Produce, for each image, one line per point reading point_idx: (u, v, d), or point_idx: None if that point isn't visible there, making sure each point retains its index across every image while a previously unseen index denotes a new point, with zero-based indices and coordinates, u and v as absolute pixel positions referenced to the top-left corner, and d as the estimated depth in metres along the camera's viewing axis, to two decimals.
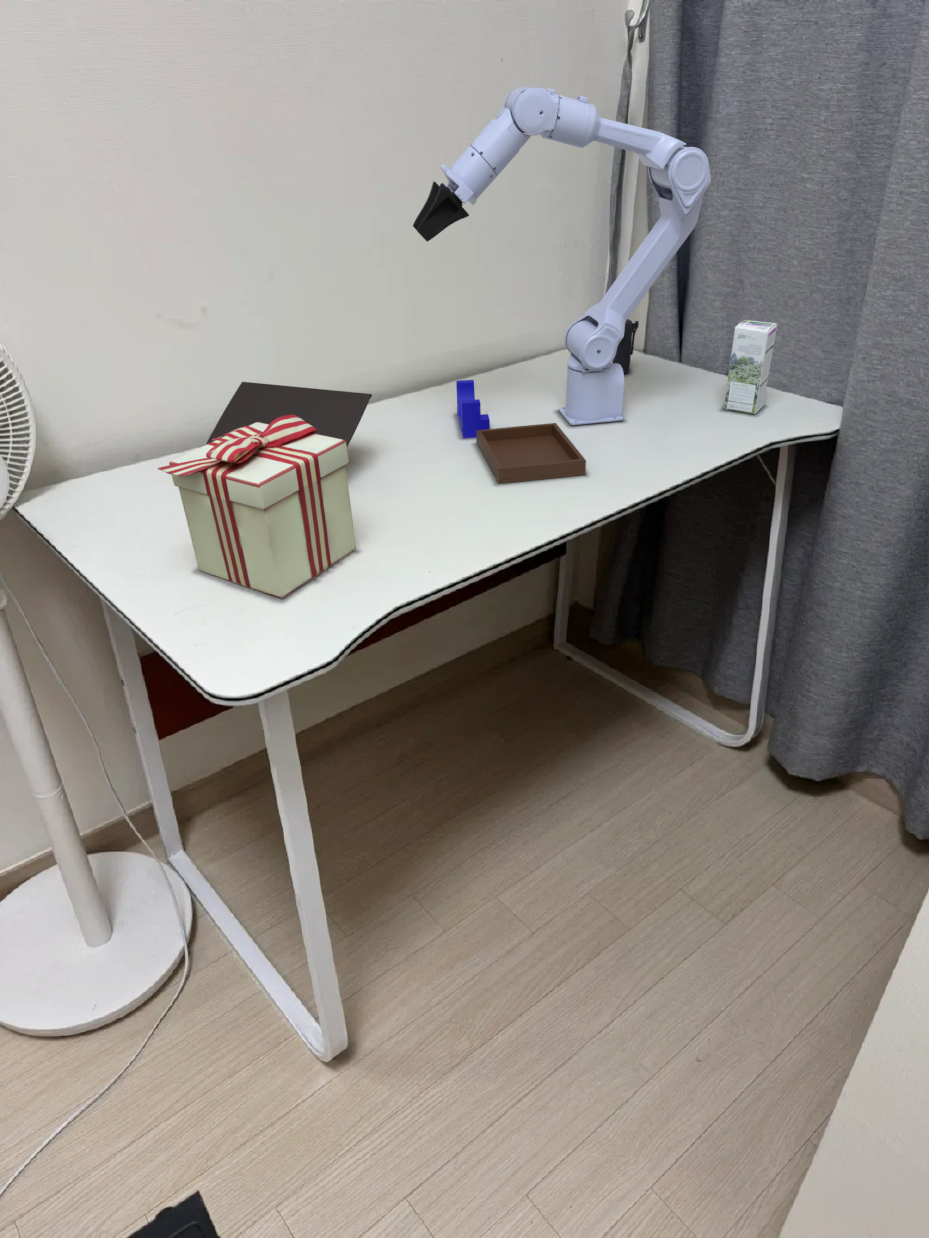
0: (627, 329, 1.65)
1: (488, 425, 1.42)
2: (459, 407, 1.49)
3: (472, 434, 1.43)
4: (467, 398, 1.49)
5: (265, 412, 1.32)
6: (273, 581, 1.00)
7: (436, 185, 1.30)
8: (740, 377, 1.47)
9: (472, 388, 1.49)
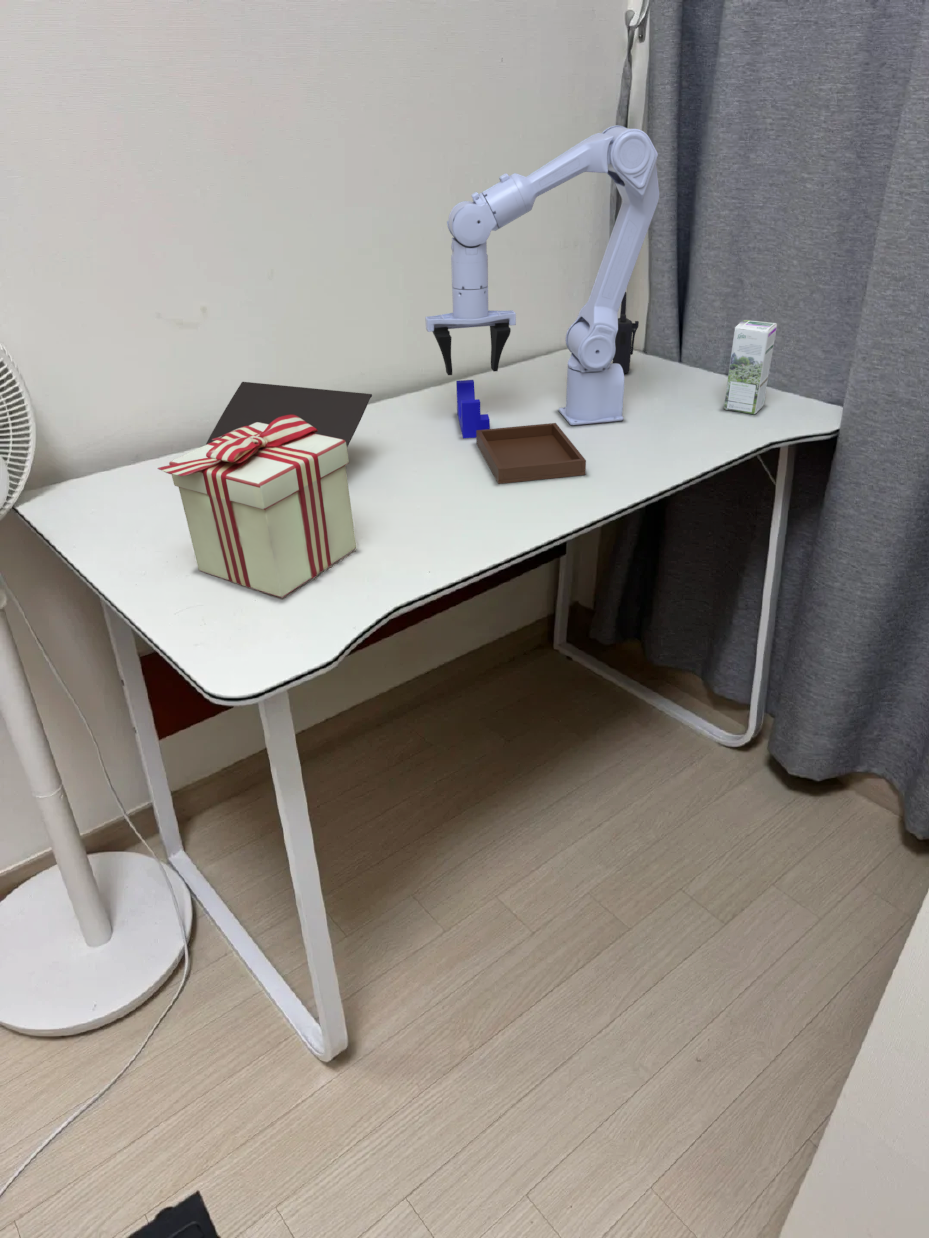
0: (627, 329, 1.65)
1: (488, 425, 1.42)
2: (459, 407, 1.49)
3: (472, 434, 1.43)
4: (467, 398, 1.49)
5: (265, 412, 1.32)
6: (273, 581, 1.00)
7: (490, 325, 1.42)
8: (740, 377, 1.47)
9: (472, 388, 1.49)
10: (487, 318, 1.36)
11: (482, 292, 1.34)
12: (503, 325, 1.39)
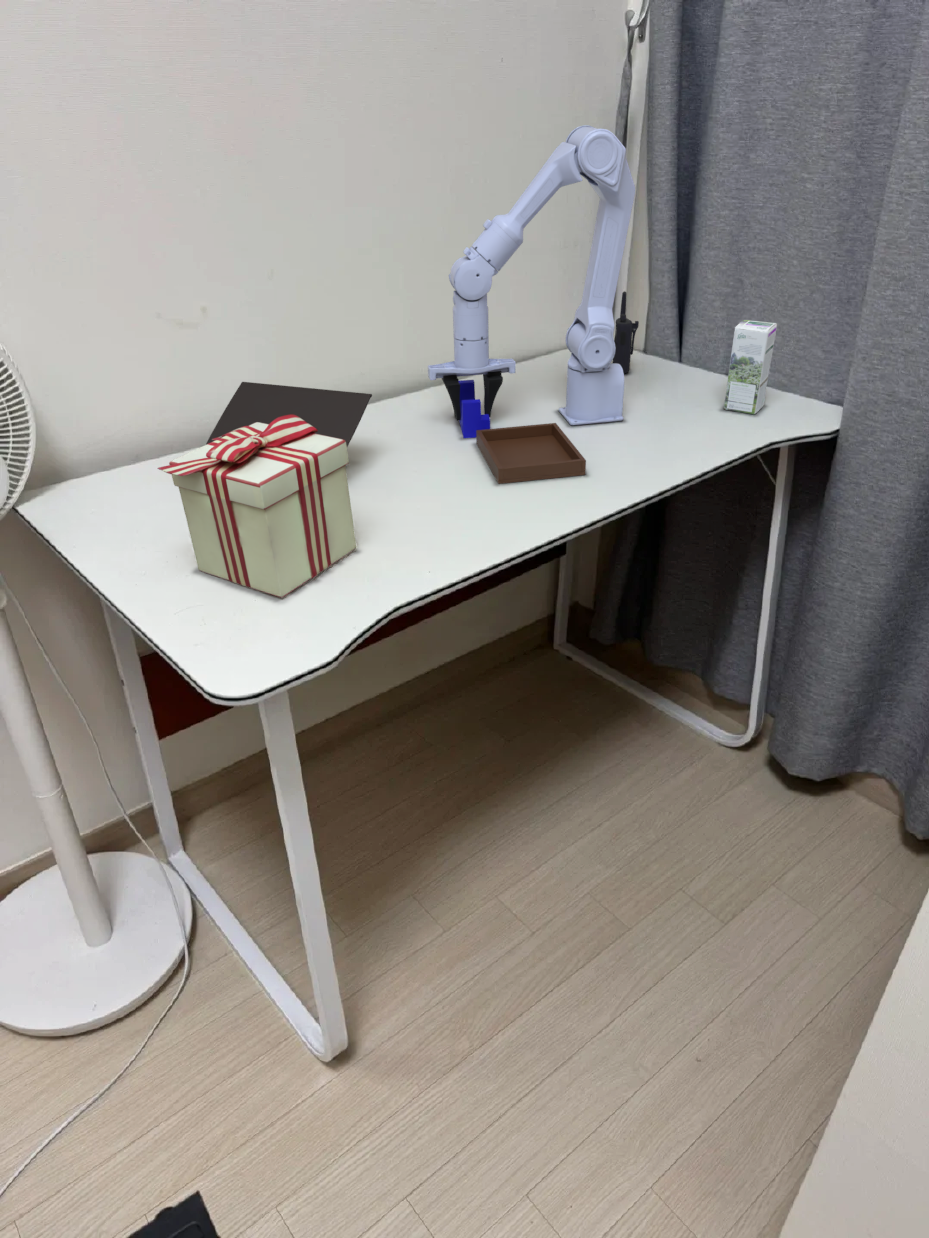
0: (627, 329, 1.65)
1: (488, 425, 1.42)
2: None
3: (472, 434, 1.43)
4: (467, 398, 1.49)
5: (265, 412, 1.32)
6: (273, 581, 1.00)
7: (483, 373, 1.46)
8: (740, 377, 1.47)
9: (472, 388, 1.49)
10: (488, 367, 1.41)
11: (483, 343, 1.38)
12: (496, 374, 1.43)
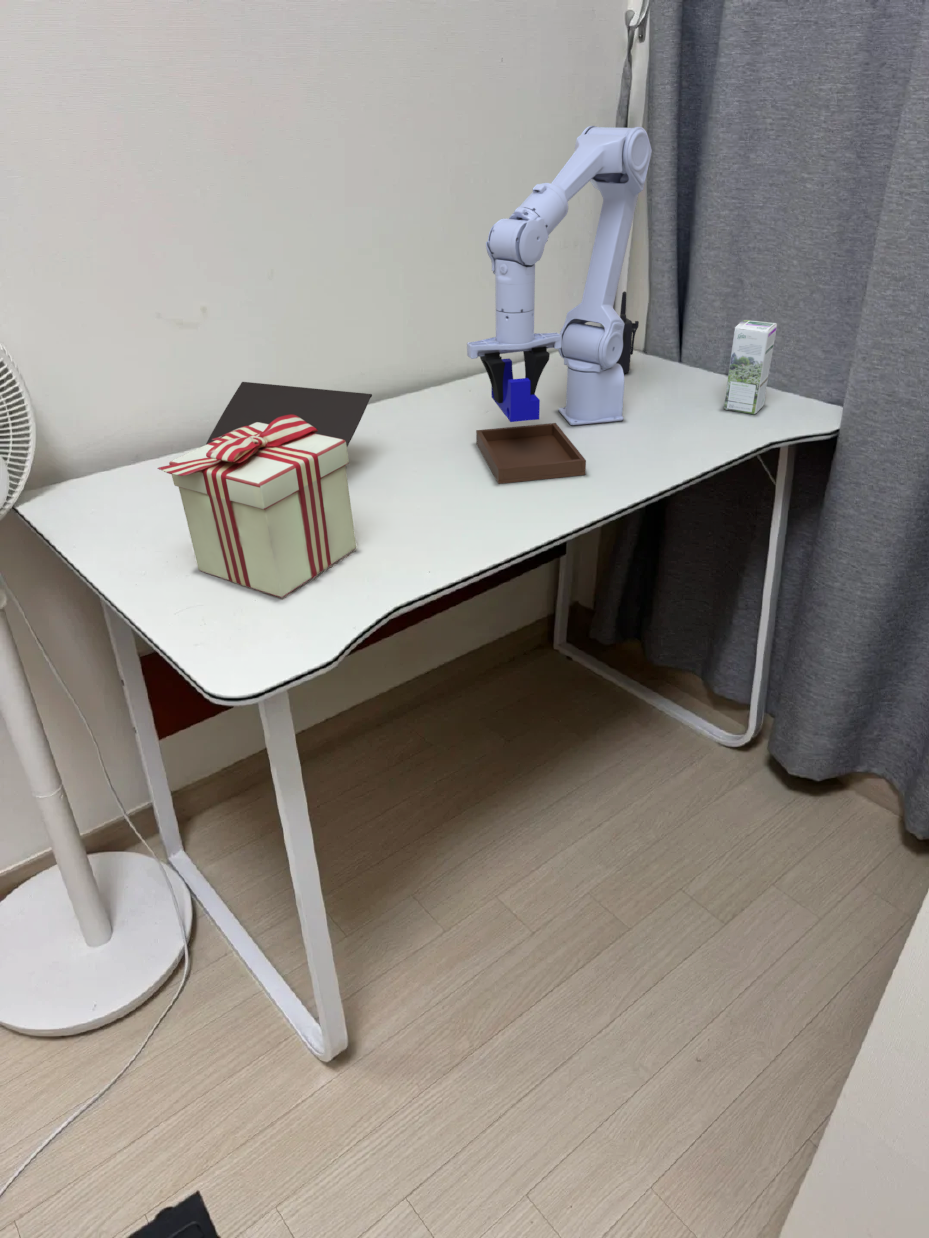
0: (627, 329, 1.65)
1: (538, 406, 1.29)
2: None
3: (520, 417, 1.29)
4: (505, 379, 1.35)
5: (265, 412, 1.32)
6: (273, 581, 1.00)
7: (524, 350, 1.32)
8: (740, 377, 1.47)
9: (510, 367, 1.35)
10: (534, 342, 1.27)
11: (530, 315, 1.25)
12: (541, 350, 1.30)
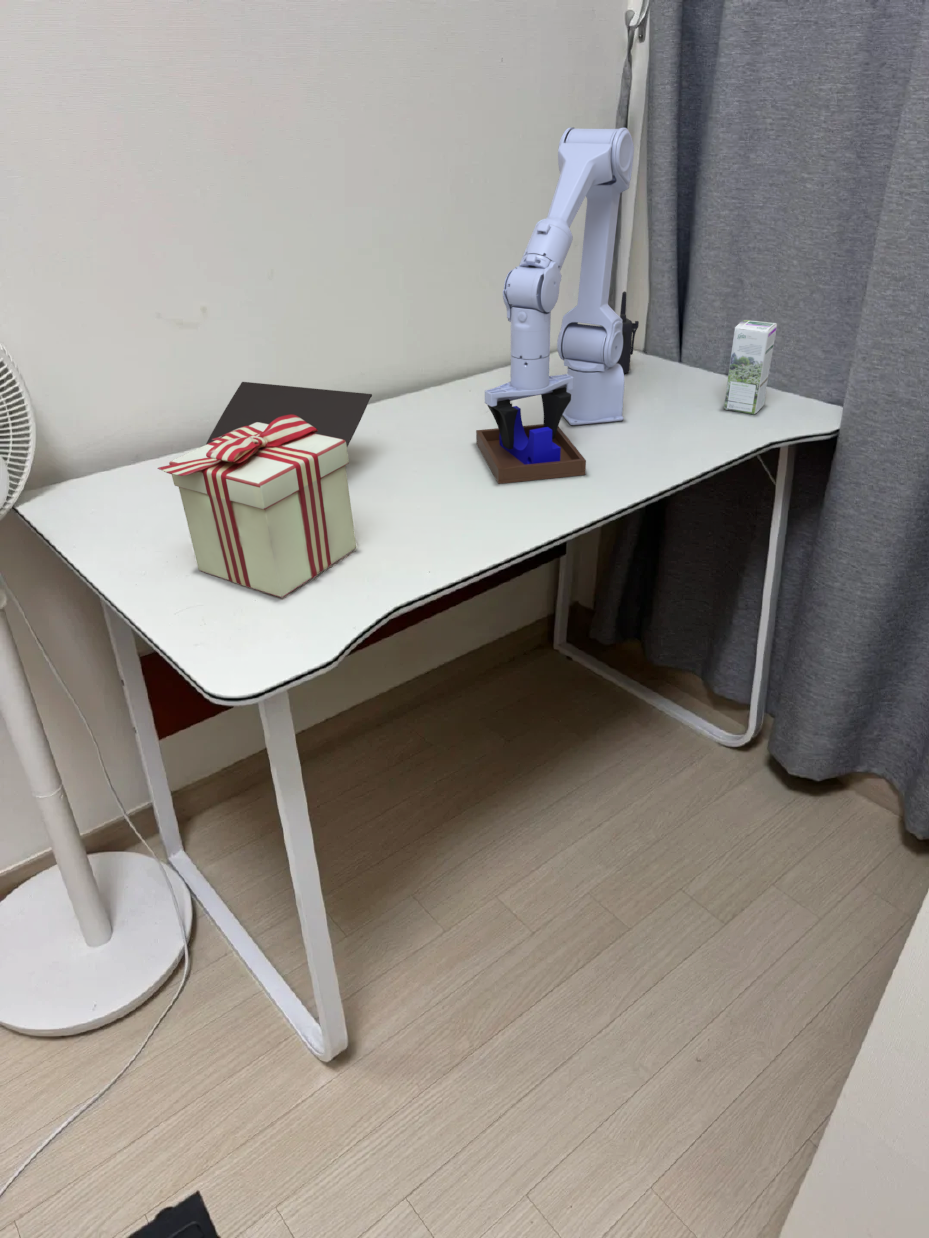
0: (627, 329, 1.65)
1: (559, 454, 1.29)
2: None
3: None
4: (515, 427, 1.35)
5: (265, 412, 1.32)
6: (273, 581, 1.00)
7: None
8: (740, 377, 1.47)
9: (519, 415, 1.35)
10: (551, 386, 1.27)
11: (547, 360, 1.25)
12: (561, 391, 1.31)
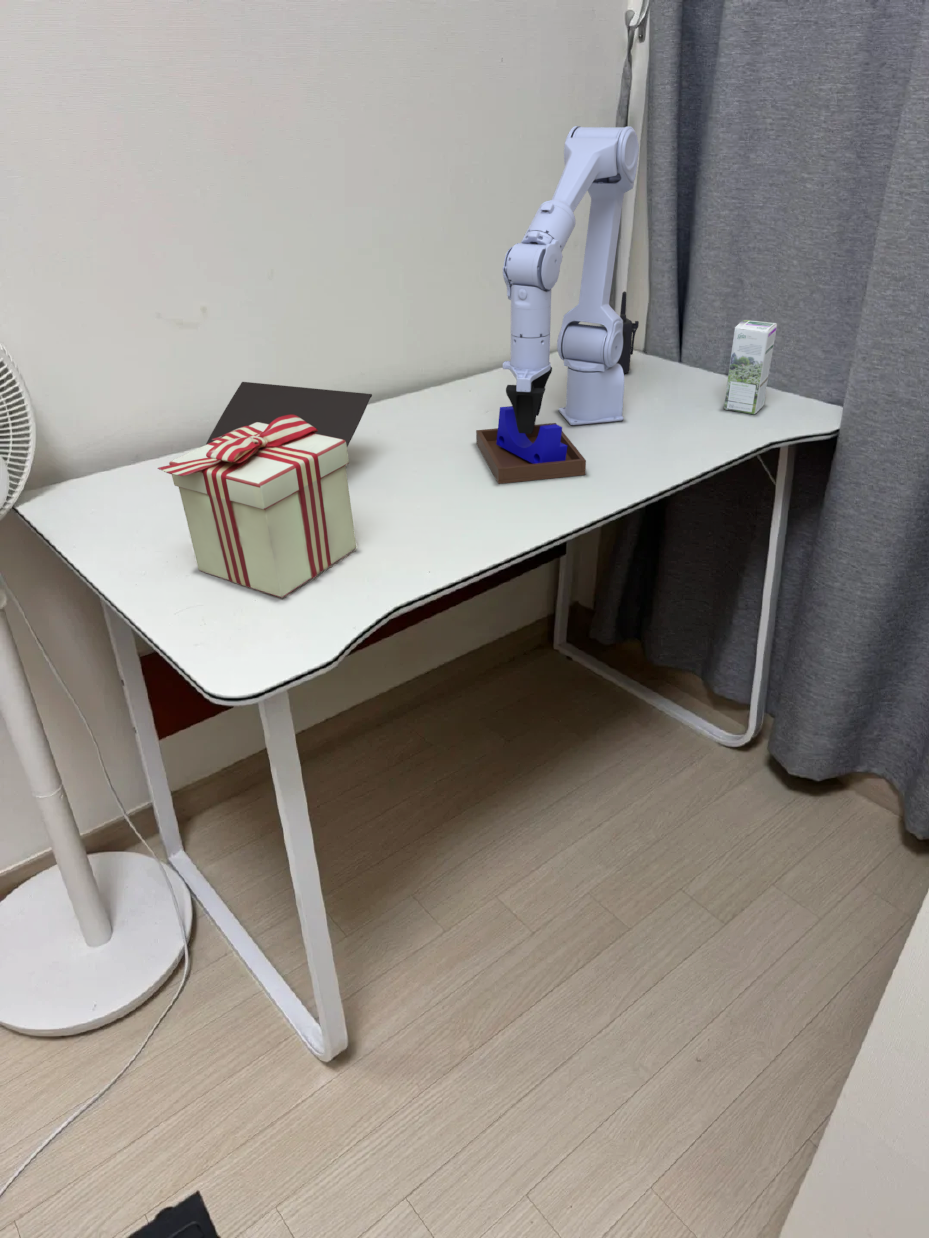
0: (627, 329, 1.65)
1: (565, 452, 1.30)
2: (510, 436, 1.34)
3: None
4: (515, 426, 1.35)
5: (265, 412, 1.32)
6: (273, 581, 1.00)
7: None
8: (740, 377, 1.47)
9: None
10: None
11: None
12: None
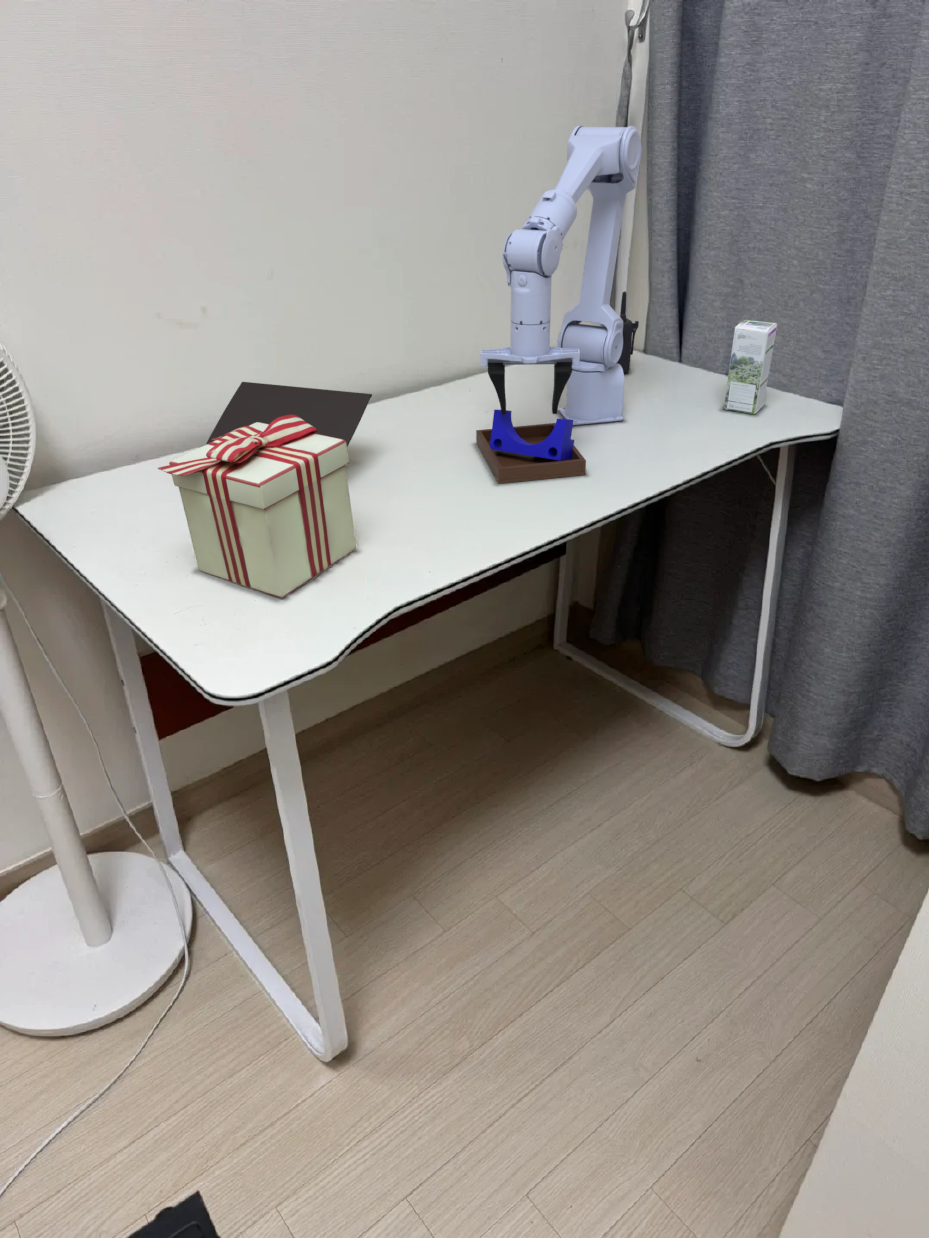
0: (627, 329, 1.65)
1: (572, 446, 1.32)
2: (511, 436, 1.32)
3: (564, 456, 1.30)
4: (510, 428, 1.33)
5: (265, 412, 1.32)
6: (273, 581, 1.00)
7: (503, 373, 1.25)
8: (740, 377, 1.47)
9: (510, 417, 1.34)
10: None
11: None
12: None
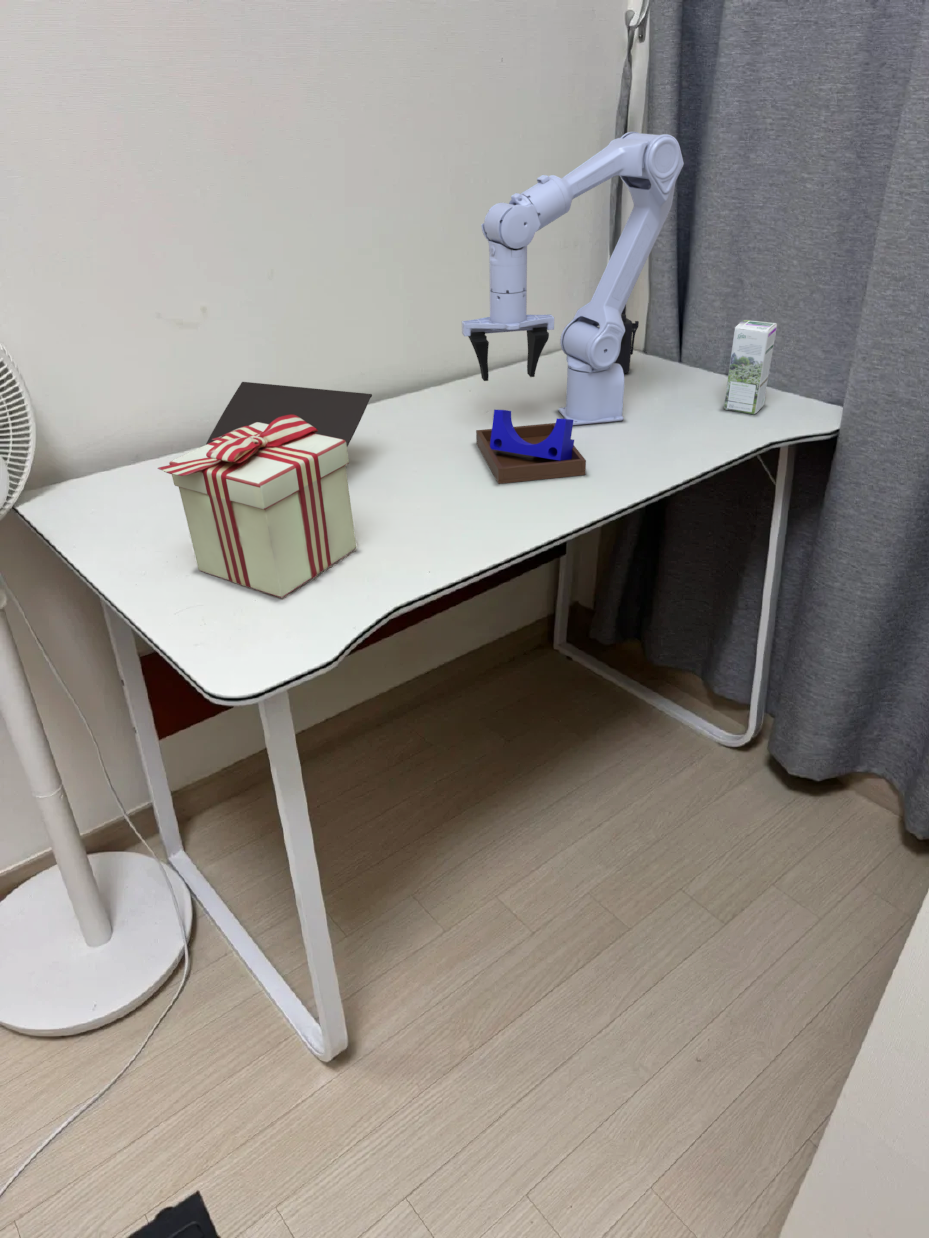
0: (627, 329, 1.65)
1: (572, 446, 1.32)
2: (511, 436, 1.32)
3: (564, 456, 1.30)
4: (510, 428, 1.33)
5: (265, 412, 1.32)
6: (273, 581, 1.00)
7: (487, 341, 1.33)
8: (740, 377, 1.47)
9: (510, 417, 1.34)
10: None
11: None
12: None
